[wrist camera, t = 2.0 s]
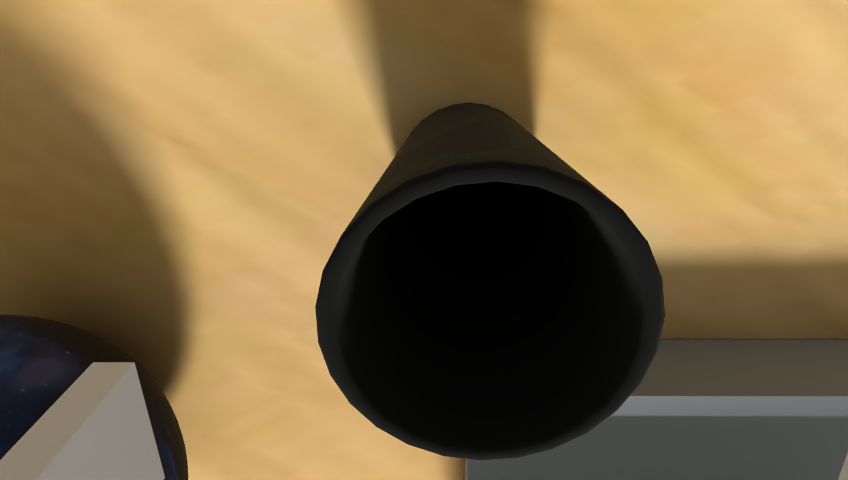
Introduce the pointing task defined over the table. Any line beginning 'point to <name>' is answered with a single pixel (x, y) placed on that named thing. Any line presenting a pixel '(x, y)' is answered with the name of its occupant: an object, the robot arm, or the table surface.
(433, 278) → the cup
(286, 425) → the table surface
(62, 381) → the decorative sphere
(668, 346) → the shelf
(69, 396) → the robot arm
